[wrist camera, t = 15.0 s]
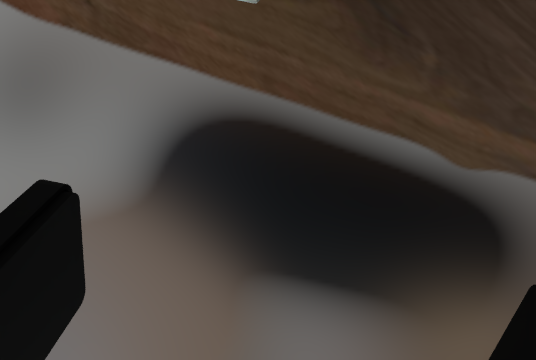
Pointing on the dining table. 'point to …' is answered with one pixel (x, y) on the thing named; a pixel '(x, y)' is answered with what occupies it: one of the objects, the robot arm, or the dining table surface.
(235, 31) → the dining table surface
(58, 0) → the dining table surface
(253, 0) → the bin
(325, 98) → the dining table surface
